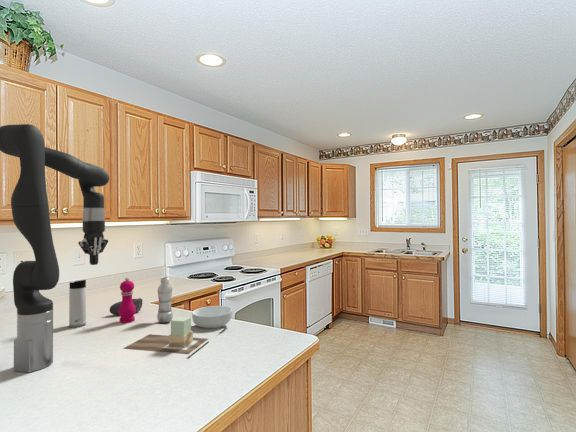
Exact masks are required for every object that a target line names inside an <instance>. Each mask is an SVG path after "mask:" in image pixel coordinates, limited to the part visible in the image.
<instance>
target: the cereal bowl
mask: <svg viewBox="0 0 576 432" xmlns="http://www.w3.org/2000/svg"><path fill="white" fill-rule="evenodd" d="M191 315H192V317H191V319H192V321H193V323H194V325H196V326H197V327H199V328H203V329H220V328H222V327H224V326H225V325H227V324H228V323H230V321H231V319H232V316H233V309H232V308H231V307H229V306H226V305H212V306H203V307H199V308H196V309H193V311H192V313H191Z"/></svg>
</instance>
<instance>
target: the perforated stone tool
mask: <svg viewBox="0 0 576 432" xmlns="http://www.w3.org/2000/svg"><path fill="white" fill-rule="evenodd" d="M132 301H133V303H134V306H135V308H136V313H135V314H137V313H139V312H140V311H141V309H142V307H143V299H142V298H140V297H139V298H132ZM121 303H122V300H120V301H118V302H116V303H115V302H114V303H113V304H112V305H111V306H110V307H109V313H110V314H112V315H114V316H120V315H119V314H118V312H119V308H120V306H121Z"/></svg>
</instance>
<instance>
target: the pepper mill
mask: <svg viewBox="0 0 576 432" xmlns="http://www.w3.org/2000/svg"><path fill="white" fill-rule="evenodd" d="M134 289H135V283H134V282H133V281H131V280H130V278H129V277H125V278H124V281H122V282H121V283H120V284H119V290H120V291H121V292H120V294H121V295H120V296H121V301H122V303H121V306H120V308H119V312H118V314H119V315H118V316H119V323H120V324H129V323H134V322H135V320H136V319H135V318H136V317H135V316H134V315H135V314H137V313H136V308H135V306H134V303H133V301H132V299H133V294H134V291H133V290H134Z"/></svg>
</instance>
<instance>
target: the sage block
mask: <svg viewBox="0 0 576 432" xmlns="http://www.w3.org/2000/svg"><path fill="white" fill-rule="evenodd" d="M190 331H192V317H190V316H177V317H175V318H172V320H171V321H170V334H171V335H180V336H184V335H186V334H187V333H189V332H190Z"/></svg>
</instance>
